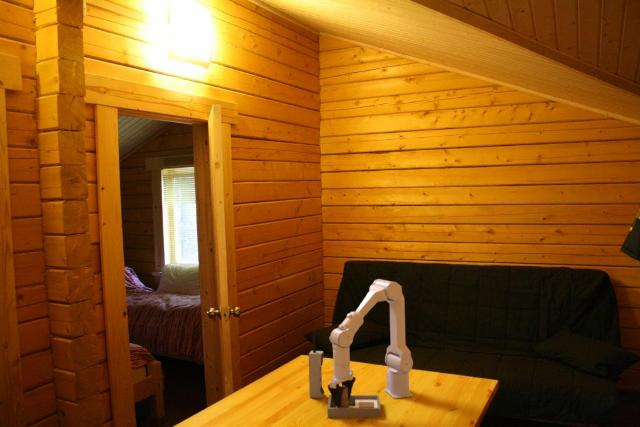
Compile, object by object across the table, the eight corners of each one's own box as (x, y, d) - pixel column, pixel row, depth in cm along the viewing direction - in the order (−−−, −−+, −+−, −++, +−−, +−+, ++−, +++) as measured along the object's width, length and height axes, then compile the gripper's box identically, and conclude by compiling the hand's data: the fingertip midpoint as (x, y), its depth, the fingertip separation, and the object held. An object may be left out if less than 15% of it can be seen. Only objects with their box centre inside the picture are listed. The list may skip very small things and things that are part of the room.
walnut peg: (335, 408, 183) (335, 386, 183) (346, 407, 184) (345, 385, 184) (338, 413, 180) (338, 390, 179) (349, 411, 181) (349, 388, 180)
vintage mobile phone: (322, 398, 193) (321, 331, 192) (309, 397, 194) (307, 331, 193) (324, 394, 197) (323, 329, 196) (311, 394, 198) (310, 328, 197)
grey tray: (327, 417, 176) (327, 408, 176) (329, 403, 188) (329, 395, 188) (380, 417, 175) (380, 408, 175) (379, 403, 187) (378, 395, 187)
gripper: (342, 371, 173) (343, 411, 174) (360, 359, 186) (361, 396, 186) (324, 368, 177) (324, 407, 177) (342, 356, 189) (343, 393, 190)
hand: (342, 401), depth 182 cm, fingers open, 7 cm apart
